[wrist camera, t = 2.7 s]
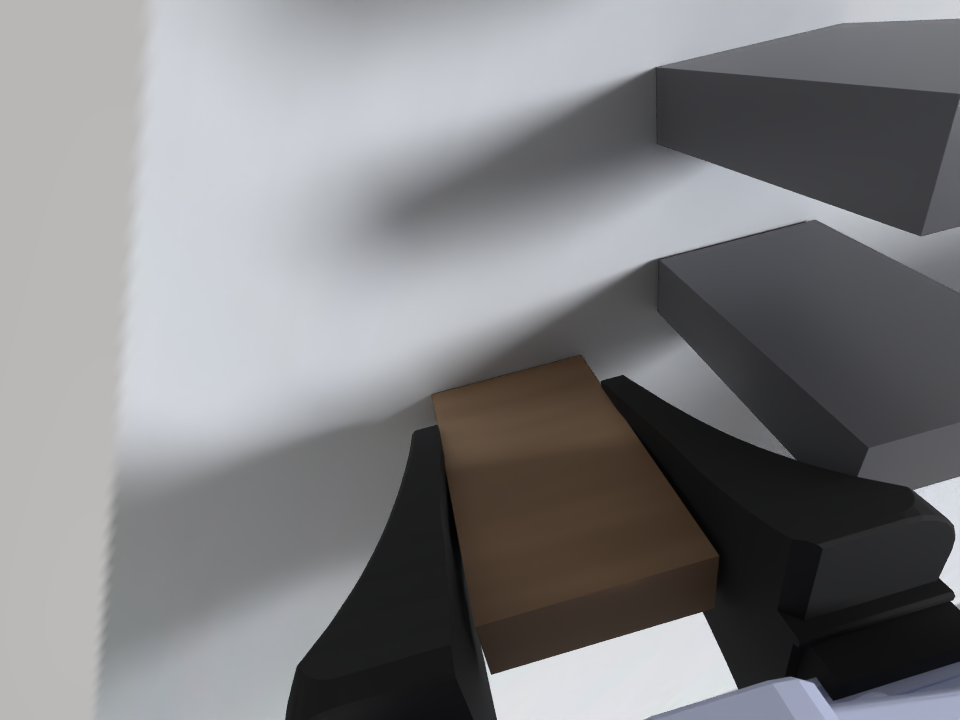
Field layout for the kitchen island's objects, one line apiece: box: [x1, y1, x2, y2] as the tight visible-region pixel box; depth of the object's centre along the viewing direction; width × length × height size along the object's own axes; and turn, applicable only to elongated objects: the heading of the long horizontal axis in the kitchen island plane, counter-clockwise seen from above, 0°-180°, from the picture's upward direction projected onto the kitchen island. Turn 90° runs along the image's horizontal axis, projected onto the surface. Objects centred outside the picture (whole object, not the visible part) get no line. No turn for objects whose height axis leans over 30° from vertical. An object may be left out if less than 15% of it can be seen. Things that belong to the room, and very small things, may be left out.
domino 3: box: [657, 220, 960, 490], centre depth 12 cm, size 2×4×7 cm, turn 101°
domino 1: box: [432, 355, 719, 675], centre depth 12 cm, size 2×4×7 cm, turn 101°
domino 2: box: [656, 19, 960, 236], centre depth 9 cm, size 2×4×7 cm, turn 100°
